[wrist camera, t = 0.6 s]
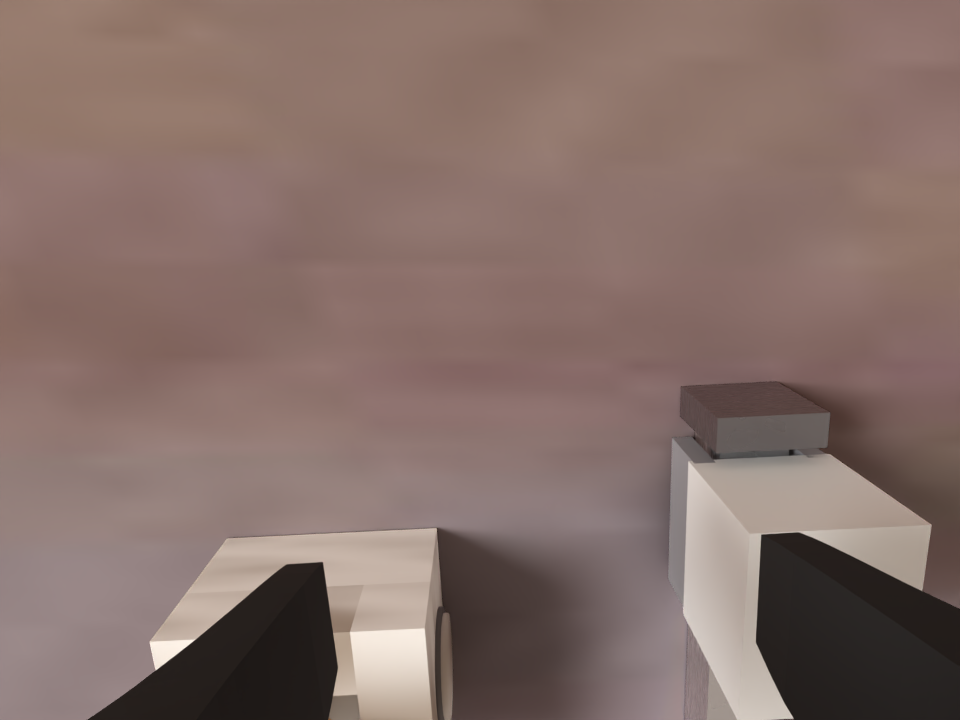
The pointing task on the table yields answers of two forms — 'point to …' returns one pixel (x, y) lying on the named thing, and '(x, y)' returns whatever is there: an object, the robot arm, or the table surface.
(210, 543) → the table surface
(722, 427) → the rail
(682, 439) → the block
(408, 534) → the cream cage with ball
